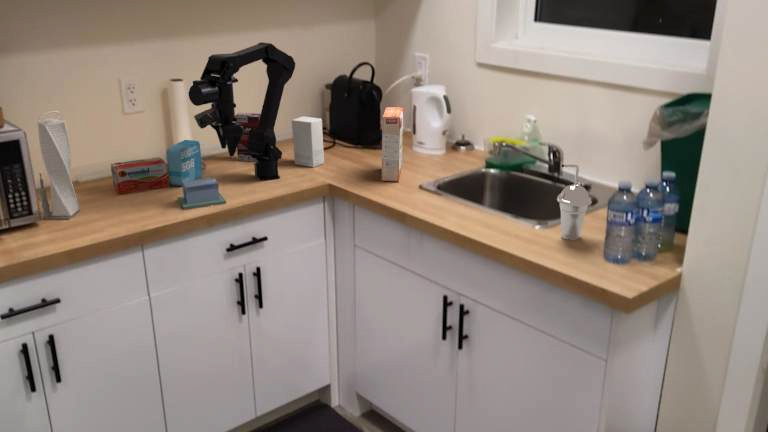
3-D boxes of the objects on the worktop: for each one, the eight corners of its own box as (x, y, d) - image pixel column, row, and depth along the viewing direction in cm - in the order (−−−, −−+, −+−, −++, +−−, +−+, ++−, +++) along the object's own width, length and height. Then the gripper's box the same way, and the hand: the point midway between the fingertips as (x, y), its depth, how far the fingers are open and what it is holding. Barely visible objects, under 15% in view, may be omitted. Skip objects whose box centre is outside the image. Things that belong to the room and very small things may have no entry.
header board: (218, 194, 210) (217, 181, 209) (226, 203, 202) (225, 190, 201) (177, 199, 205) (176, 187, 204) (183, 209, 198) (182, 196, 196)
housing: (214, 193, 208) (213, 177, 206) (219, 199, 203) (218, 183, 201) (183, 198, 204) (182, 181, 202) (187, 204, 199) (186, 187, 198)
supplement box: (237, 161, 242) (234, 115, 236) (242, 157, 246) (239, 112, 241) (261, 162, 240) (258, 116, 235) (266, 158, 245) (263, 113, 239)
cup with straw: (592, 242, 178) (601, 166, 170) (557, 243, 177) (564, 167, 170) (580, 229, 185) (589, 156, 178) (547, 230, 185) (554, 157, 178)
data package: (182, 187, 215) (178, 149, 211) (169, 186, 217) (165, 148, 212) (203, 176, 226) (199, 139, 222) (190, 174, 227) (187, 138, 223)
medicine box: (163, 180, 222) (160, 155, 220) (170, 187, 216) (167, 162, 213) (113, 187, 215) (109, 162, 213) (118, 195, 209) (115, 169, 206)
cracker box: (400, 182, 221) (401, 116, 214) (380, 181, 222) (381, 116, 214) (403, 169, 234) (404, 106, 227) (384, 168, 235) (385, 106, 227)
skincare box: (324, 163, 240) (323, 118, 234) (312, 168, 234) (311, 122, 229) (305, 159, 244) (303, 115, 238) (292, 164, 239) (291, 119, 233)
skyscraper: (57, 208, 198) (40, 109, 188) (86, 208, 198) (70, 110, 188) (43, 219, 190) (24, 117, 180) (72, 219, 190) (56, 117, 180)
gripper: (188, 96, 207) (193, 147, 213) (202, 108, 192) (207, 164, 197) (226, 93, 212) (229, 143, 218) (243, 105, 196) (246, 159, 202)
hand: (227, 152), depth 209 cm, fingers open, 9 cm apart
